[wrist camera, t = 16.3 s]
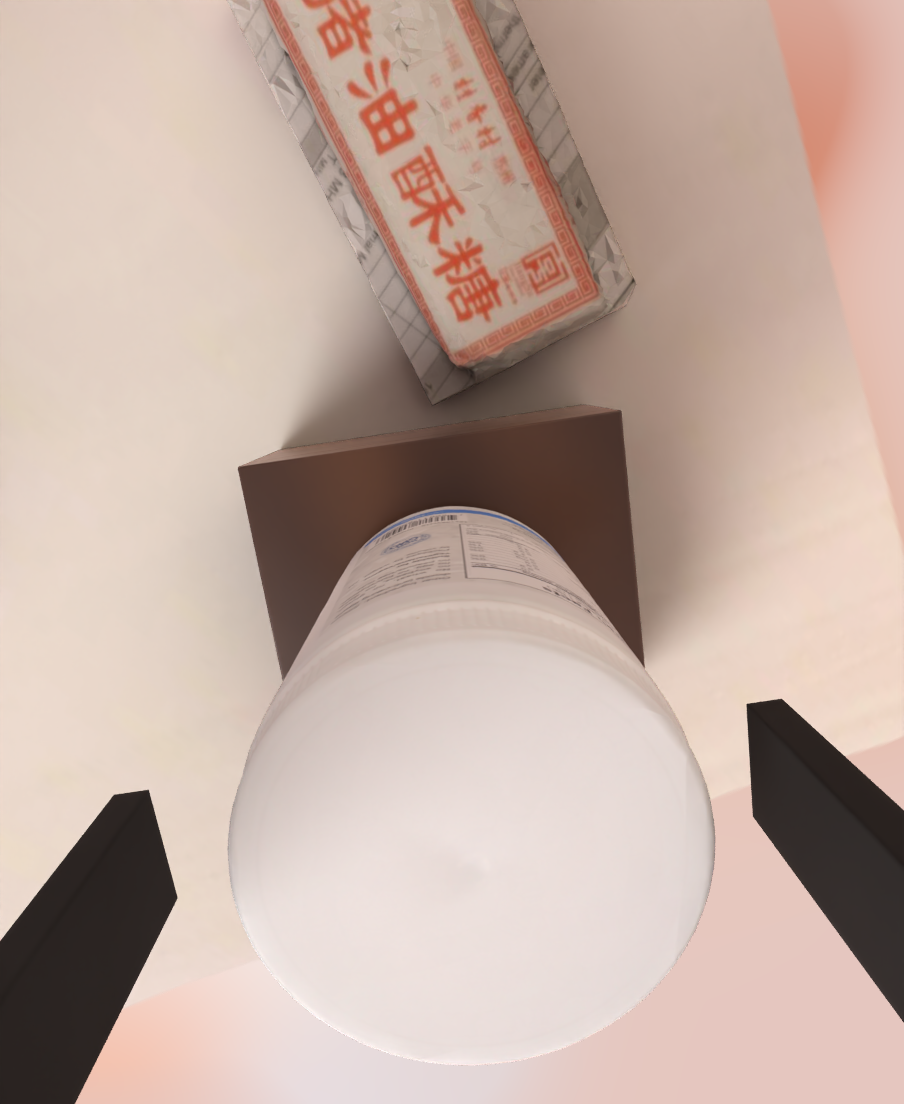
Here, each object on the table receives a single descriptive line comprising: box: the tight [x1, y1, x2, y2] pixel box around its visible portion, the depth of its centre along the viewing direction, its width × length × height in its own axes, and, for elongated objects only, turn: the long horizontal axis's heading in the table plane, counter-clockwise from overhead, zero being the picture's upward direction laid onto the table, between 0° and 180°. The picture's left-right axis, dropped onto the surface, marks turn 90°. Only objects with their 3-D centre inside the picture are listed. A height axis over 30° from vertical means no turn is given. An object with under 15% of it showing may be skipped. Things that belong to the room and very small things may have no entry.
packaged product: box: [227, 0, 636, 406], centre depth 28 cm, size 18×5×10 cm
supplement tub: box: [228, 506, 715, 1065], centre depth 21 cm, size 10×10×15 cm
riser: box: [238, 405, 645, 681], centre depth 31 cm, size 14×14×7 cm
